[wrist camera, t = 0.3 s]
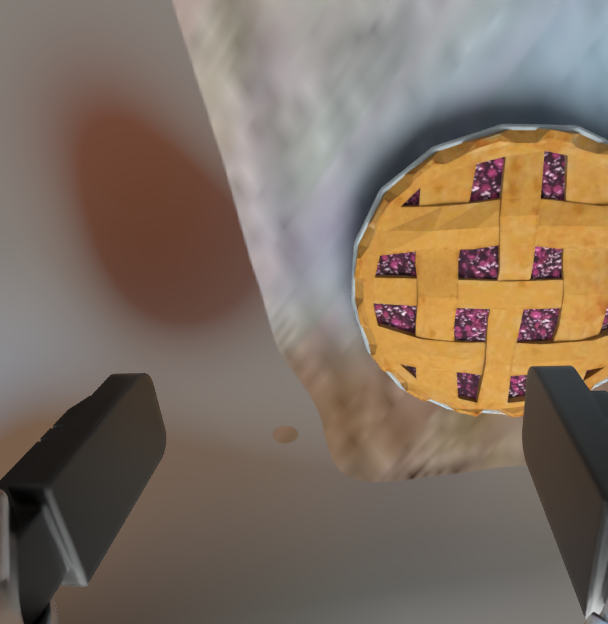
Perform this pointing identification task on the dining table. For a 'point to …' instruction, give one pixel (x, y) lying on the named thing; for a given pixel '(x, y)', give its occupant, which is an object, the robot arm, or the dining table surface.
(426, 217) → the pie
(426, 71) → the dining table surface
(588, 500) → the robot arm
